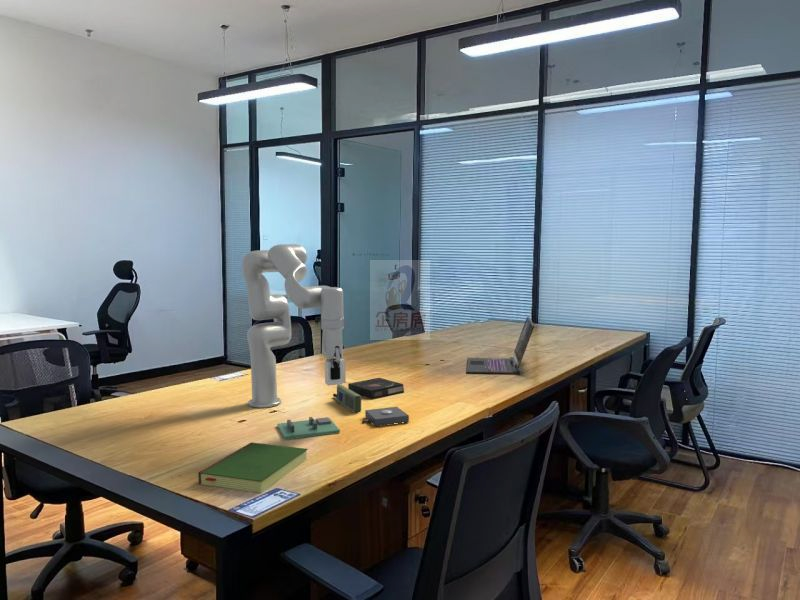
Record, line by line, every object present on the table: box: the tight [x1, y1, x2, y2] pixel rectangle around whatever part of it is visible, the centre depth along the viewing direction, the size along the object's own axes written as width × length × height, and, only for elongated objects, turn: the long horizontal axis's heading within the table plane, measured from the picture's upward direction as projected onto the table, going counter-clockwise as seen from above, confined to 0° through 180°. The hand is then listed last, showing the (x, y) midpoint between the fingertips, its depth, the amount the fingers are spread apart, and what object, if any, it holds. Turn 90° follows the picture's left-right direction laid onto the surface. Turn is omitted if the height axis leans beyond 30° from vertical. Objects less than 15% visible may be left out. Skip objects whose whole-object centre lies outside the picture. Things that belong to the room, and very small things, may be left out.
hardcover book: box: [197, 442, 308, 494], centre depth 159 cm, size 25×19×4 cm
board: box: [277, 416, 341, 441], centre depth 196 cm, size 15×18×3 cm
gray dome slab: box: [361, 406, 410, 427], centre depth 205 cm, size 12×15×3 cm
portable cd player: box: [347, 377, 405, 400], centre depth 245 cm, size 16×17×4 cm
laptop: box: [466, 316, 535, 376], centre depth 292 cm, size 35×32×24 cm
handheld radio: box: [332, 384, 362, 414], centre depth 226 cm, size 7×3×25 cm
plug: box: [324, 358, 347, 386], centre depth 198 cm, size 4×6×8 cm, turn 112°
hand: (333, 377), depth 197 cm, fingers closed on plug, 4 cm apart
